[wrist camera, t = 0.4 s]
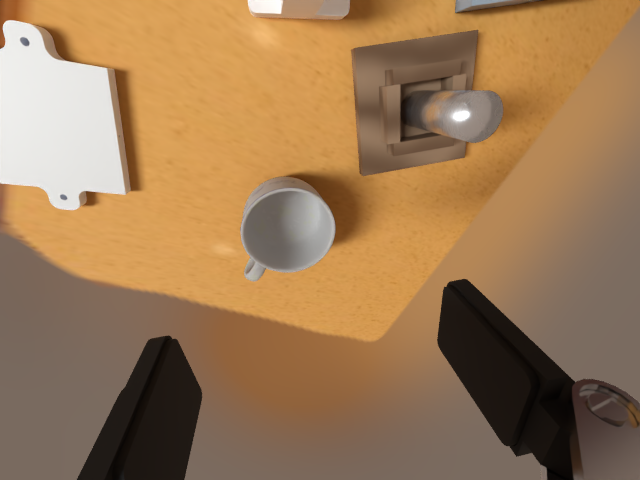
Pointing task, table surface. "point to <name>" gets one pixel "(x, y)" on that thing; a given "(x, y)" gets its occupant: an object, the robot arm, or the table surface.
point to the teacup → (285, 227)
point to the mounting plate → (58, 121)
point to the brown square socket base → (394, 85)
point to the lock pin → (453, 113)
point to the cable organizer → (300, 9)
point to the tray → (485, 4)
